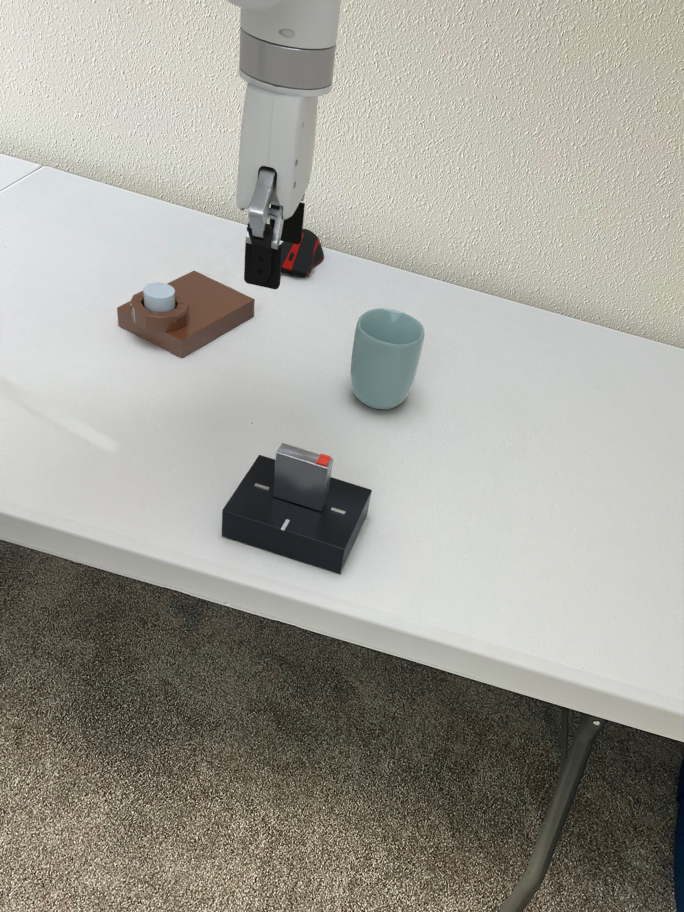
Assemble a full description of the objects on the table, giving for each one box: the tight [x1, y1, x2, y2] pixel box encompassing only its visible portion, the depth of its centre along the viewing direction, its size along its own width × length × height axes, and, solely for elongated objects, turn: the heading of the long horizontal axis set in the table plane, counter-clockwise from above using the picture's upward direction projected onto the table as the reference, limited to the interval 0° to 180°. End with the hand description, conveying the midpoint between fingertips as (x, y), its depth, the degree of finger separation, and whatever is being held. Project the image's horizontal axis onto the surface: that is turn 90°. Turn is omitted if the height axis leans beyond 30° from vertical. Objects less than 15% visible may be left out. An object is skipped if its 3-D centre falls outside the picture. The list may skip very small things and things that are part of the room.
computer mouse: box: [279, 228, 325, 278], centre depth 115 cm, size 6×11×4 cm, turn 167°
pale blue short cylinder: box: [142, 281, 175, 312], centre depth 93 cm, size 4×4×2 cm
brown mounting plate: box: [116, 270, 256, 359], centre depth 98 cm, size 15×10×4 cm, turn 150°
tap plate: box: [221, 454, 373, 575], centre depth 76 cm, size 12×9×4 cm
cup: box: [349, 307, 426, 410], centre depth 92 cm, size 8×8×10 cm
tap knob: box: [273, 442, 334, 512], centre depth 73 cm, size 5×2×6 cm, turn 75°
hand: (274, 261), depth 75 cm, fingers open, 9 cm apart
